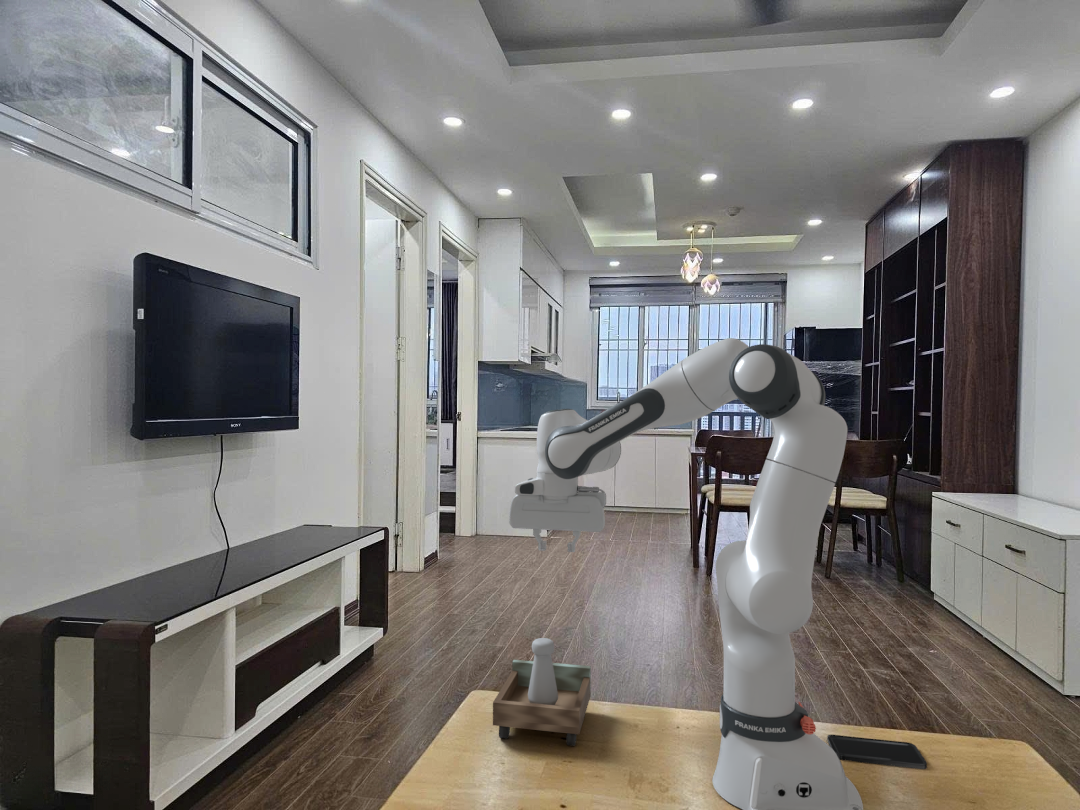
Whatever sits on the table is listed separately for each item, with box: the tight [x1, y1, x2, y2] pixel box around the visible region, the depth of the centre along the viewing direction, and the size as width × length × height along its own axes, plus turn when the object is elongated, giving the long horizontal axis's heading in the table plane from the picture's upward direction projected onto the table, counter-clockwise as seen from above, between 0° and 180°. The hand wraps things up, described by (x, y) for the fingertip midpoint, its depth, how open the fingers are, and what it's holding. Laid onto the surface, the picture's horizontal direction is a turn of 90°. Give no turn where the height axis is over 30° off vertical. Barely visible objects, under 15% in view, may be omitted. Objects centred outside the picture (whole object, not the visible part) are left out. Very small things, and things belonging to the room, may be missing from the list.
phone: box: [826, 734, 928, 770], centre depth 120 cm, size 8×1×15 cm
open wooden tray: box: [492, 659, 592, 747], centre depth 129 cm, size 16×16×9 cm
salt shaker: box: [528, 637, 558, 705], centre depth 127 cm, size 6×6×13 cm
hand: (556, 550), depth 141 cm, fingers open, 5 cm apart
